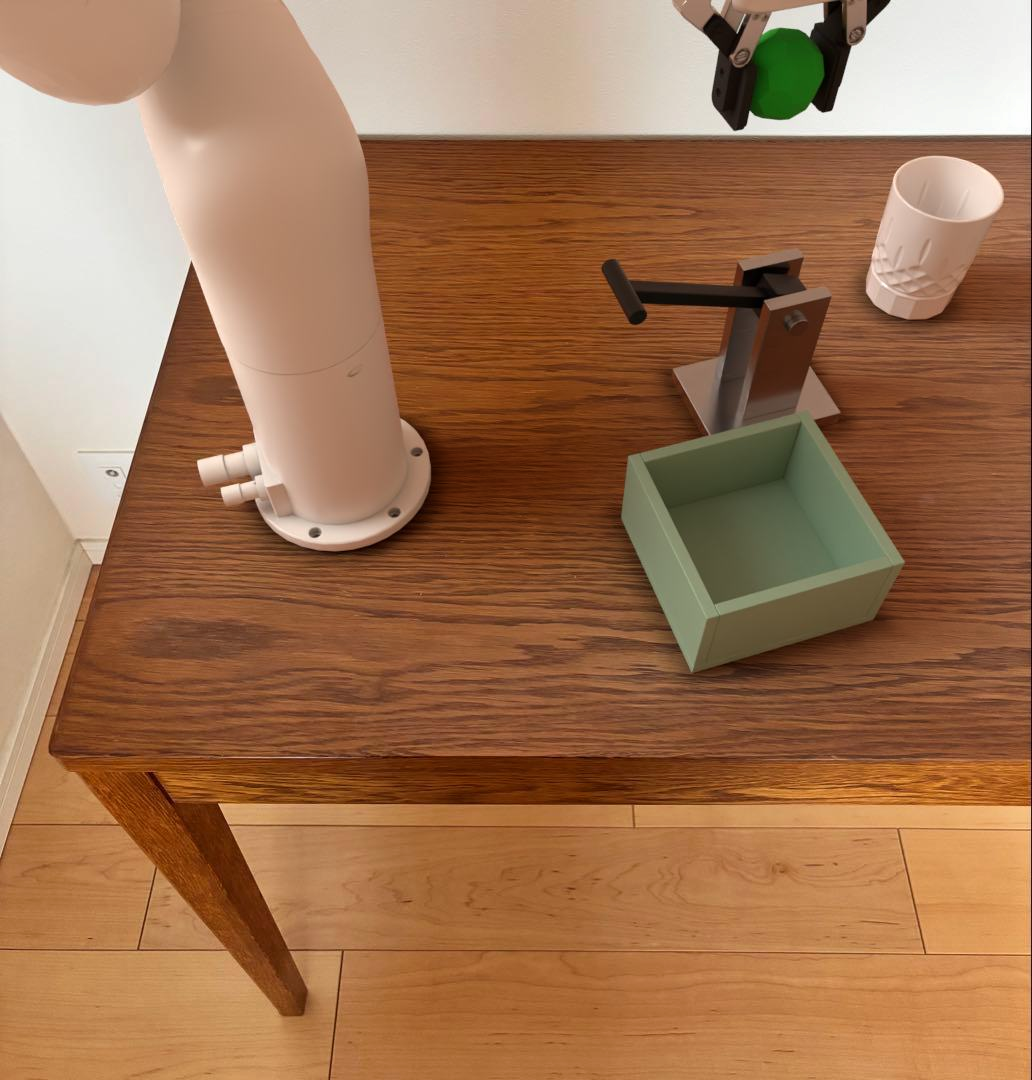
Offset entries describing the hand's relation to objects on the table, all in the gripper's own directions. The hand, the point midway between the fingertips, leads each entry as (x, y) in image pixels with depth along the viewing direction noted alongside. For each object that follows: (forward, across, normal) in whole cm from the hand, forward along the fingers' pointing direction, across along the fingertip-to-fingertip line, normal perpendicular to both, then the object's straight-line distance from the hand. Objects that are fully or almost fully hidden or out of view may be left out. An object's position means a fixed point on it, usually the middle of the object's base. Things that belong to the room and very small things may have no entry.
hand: (772, 106), depth 60 cm
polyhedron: (+1, 0, 0) cm, 1 cm away
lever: (+10, +5, +5) cm, 13 cm away
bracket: (+21, -1, +5) cm, 22 cm away
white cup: (+21, -18, -2) cm, 28 cm away
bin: (+21, +7, +18) cm, 29 cm away
